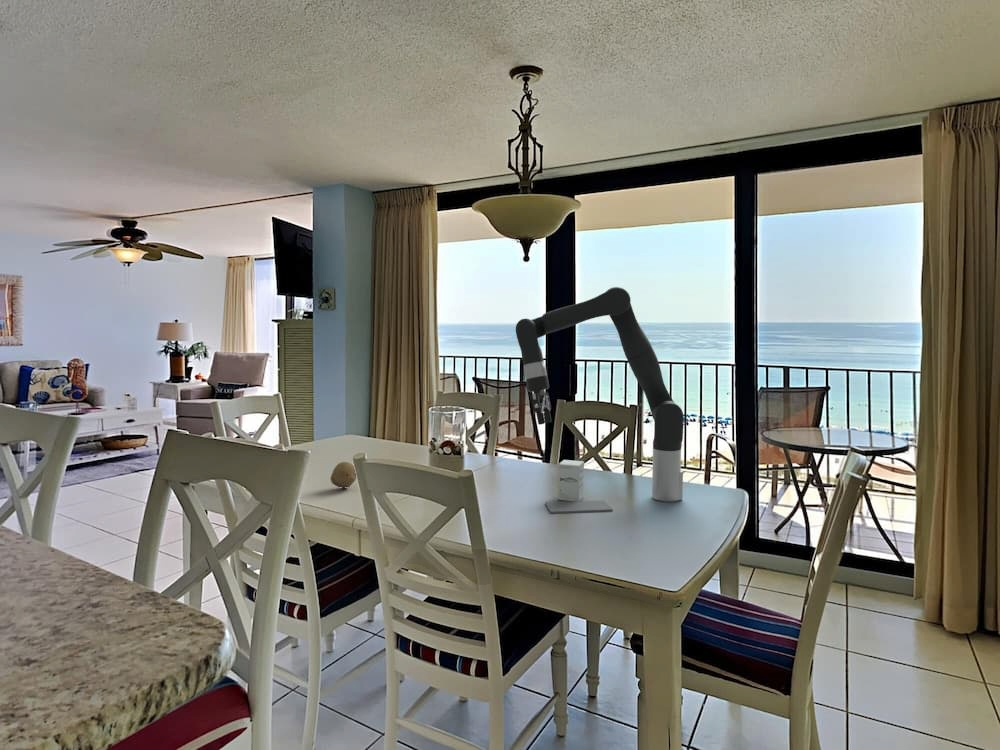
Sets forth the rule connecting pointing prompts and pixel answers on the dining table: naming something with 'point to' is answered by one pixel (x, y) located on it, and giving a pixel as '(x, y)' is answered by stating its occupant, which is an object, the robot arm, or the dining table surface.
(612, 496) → the dining table surface
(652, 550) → the dining table surface
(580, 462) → the supplement box
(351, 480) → the natural sponge
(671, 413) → the robot arm
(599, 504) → the mat
